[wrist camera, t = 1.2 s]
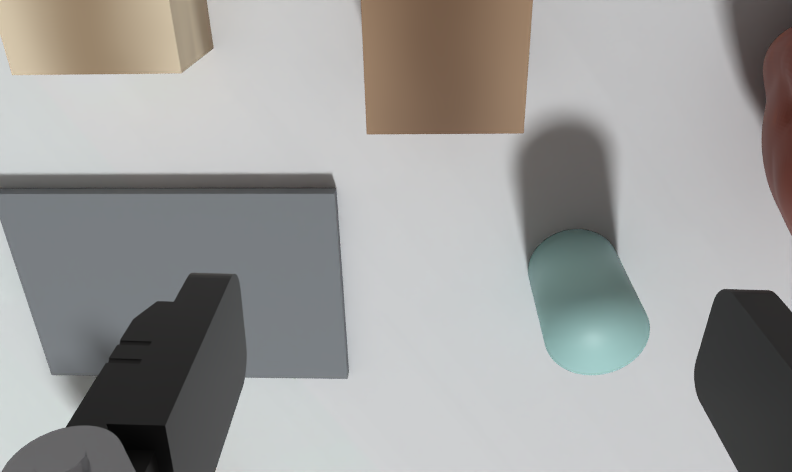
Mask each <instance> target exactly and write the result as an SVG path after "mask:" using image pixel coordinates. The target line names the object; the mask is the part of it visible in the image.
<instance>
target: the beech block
mask: <svg viewBox="0 0 792 472" xmlns="http://www.w3.org/2000/svg"><path fill="white" fill-rule="evenodd" d="M0 35H1V38H2V42H3V45H4V49H5V52H6V56H7V59H8V62H9V66H10V69H11V73H12V75H61V74H158V73H182V72H184V71H185V70H186V69H188V68H189V67H190V66H191V65H193V64H194V63H195V62H197V61H198V60H199V59H200V58H202V57H203V56H204V55H205V54H207V53H208V52H209V51H211V50H212V49H213V41H212V34H211V27H210V20H209V14H208V7H207V0H0Z"/></svg>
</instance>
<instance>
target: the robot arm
mask: <svg viewBox="0 0 792 472" xmlns="http://www.w3.org/2000/svg"><path fill="white" fill-rule="evenodd" d="M246 364H247V348H246V337H245V328H244V318H243V308H242V299H241V289H240V282H239V278H238V276H237V275H236V274H226V273H190V274H189V275H188V277H187V279H186V280H185V282H184V284H183V286H182V288H181V289H180V291H179V293H178V295H177V297H176V299H175V300H174V302H170V301H157V302H155V303H154V304H153V305H151V306H150V307H149V308H147V309H146V310H145V311H143V312H142V313H141V314H139V315H138V316H137V317H135V318H134V319H133V320H132V322H131V323H130V325H129V326H128V328H127V330H126V331H125V333H124V334H123V336H122V338H121V339H120V344H119V345H117V346H116V347H115V349H114V351H113V352H112V354H111V355H110V357H109V362H108V363H105V365H104V367H103V368H102V370H101V371H100V373H99V375H98V376H97V378H96V380H95V381H94V383H93V384H92V386H91V388H90V389H89V391H88V392H87V394H86V396H85V397H84V399H83V400H82V402H81V404H80V405H79V407H78V408H77V410H76V412H75V413H74V415H73V416H72V418H71V420H70V421H69V423H68V425H67V426H66V428H62V429H58V430H55V431H52V432H49V433H47V434H45V435H43V436H40V437H38V438H37V439H35V440H33V441H31V442H30V443H28V444H27V445H25V446H24V447H23V448H21V449H20V450H19V451H18V452H17V453H16V454H15V455H13V457H12V458H11V459H10V460H9V461H8V462H7V464H6V465H5V467H4V469H3V470H2V472H215V470H216V467H217V464H218V461H219V458H220V455H221V452H222V448H223V445H224V442H225V439H226V436H227V433H228V430H229V427H230V424H231V421H232V418H233V415H234V412H235V409H236V406H237V403H238V400H239V396H240V393H241V390H242V387H243V384H244V379H245V374H246ZM694 381H695V388H696V393H697V396H698V399H699V401H700V403H701V405H702V406H703V408H704V410H705V412H706V414H707V416H708V417H709V419H710V421H711V423H712V425H713V427H714V428H715V430H716V432H717V434H718V436H719V438H720V439H721V441H722V443H723V445H724V447H725V448H726V450H727V452H728V454H729V456H730V458H731V459H732V461H733V463H734V465H735V467H736V469H737V470H738V472H792V312H791V311H790V309H789V308H788V307H787V306H786V305H785V304H784V303H783V301H782V300H781V299H780V298H779V297H778V296H777V295H776V294H775V293H774V292H772V291H769V290H737V289H723V290H721V291H720V292H718V294H717V295H716V297H715V299H714V302H713V305H712V308H711V312H710V315H709V318H708V322H707V325H706V329H705V332H704V335H703V339H702V342H701V346H700V349H699V352H698V356H697V359H696V363H695V369H694Z"/></svg>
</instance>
